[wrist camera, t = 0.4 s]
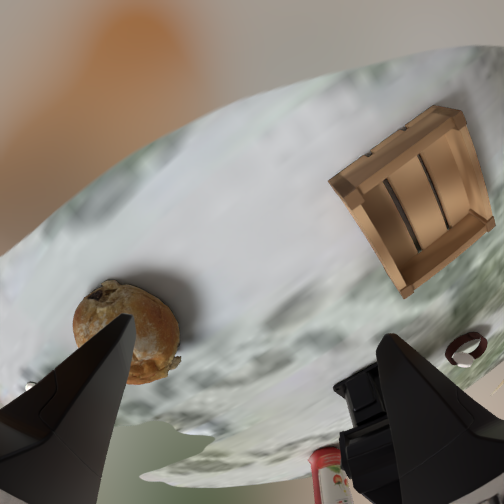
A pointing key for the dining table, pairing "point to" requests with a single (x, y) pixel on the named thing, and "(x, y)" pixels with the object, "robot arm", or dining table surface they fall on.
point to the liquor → (329, 477)
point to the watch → (464, 358)
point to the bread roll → (146, 322)
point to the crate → (419, 196)
